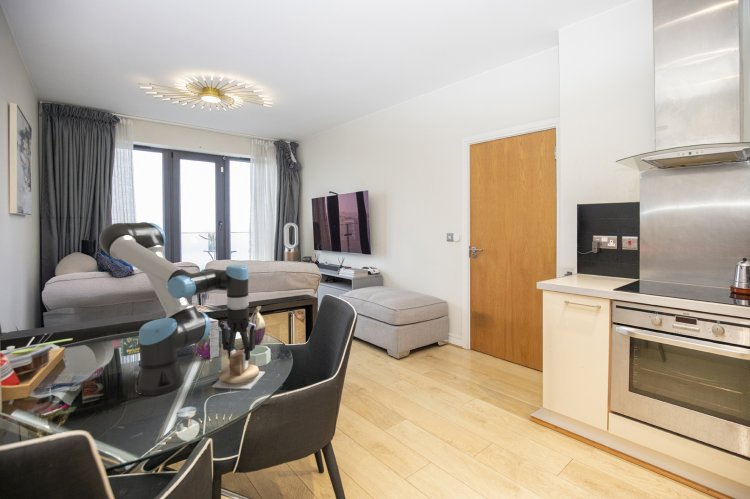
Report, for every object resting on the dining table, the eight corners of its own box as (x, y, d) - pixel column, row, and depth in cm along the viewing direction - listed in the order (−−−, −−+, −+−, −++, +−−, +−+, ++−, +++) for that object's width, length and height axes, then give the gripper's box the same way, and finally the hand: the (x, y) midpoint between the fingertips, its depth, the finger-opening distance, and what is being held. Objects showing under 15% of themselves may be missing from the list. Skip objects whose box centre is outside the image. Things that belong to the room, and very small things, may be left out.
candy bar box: (194, 354, 161) (193, 318, 160) (204, 351, 165) (203, 315, 164) (209, 360, 155) (208, 322, 154) (220, 356, 159) (219, 319, 158)
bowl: (237, 366, 149) (237, 354, 149) (249, 356, 160) (248, 345, 160) (263, 367, 148) (263, 355, 148) (273, 357, 159) (273, 346, 159)
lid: (211, 382, 131) (211, 359, 130) (230, 366, 144) (230, 346, 144) (249, 384, 129) (248, 362, 129) (264, 367, 143) (264, 347, 142)
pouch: (263, 354, 163) (263, 312, 161) (244, 355, 161) (243, 313, 159) (267, 335, 187) (266, 299, 185) (250, 336, 185) (249, 300, 183)
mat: (212, 387, 131) (212, 386, 131) (230, 370, 145) (230, 369, 145) (249, 389, 130) (249, 388, 129) (265, 372, 143) (265, 371, 143)
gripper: (264, 305, 137) (265, 365, 140) (221, 303, 139) (222, 362, 141) (256, 310, 130) (257, 373, 132) (210, 308, 132) (212, 371, 134)
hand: (239, 367), depth 137 cm, fingers closed on lid, 4 cm apart
